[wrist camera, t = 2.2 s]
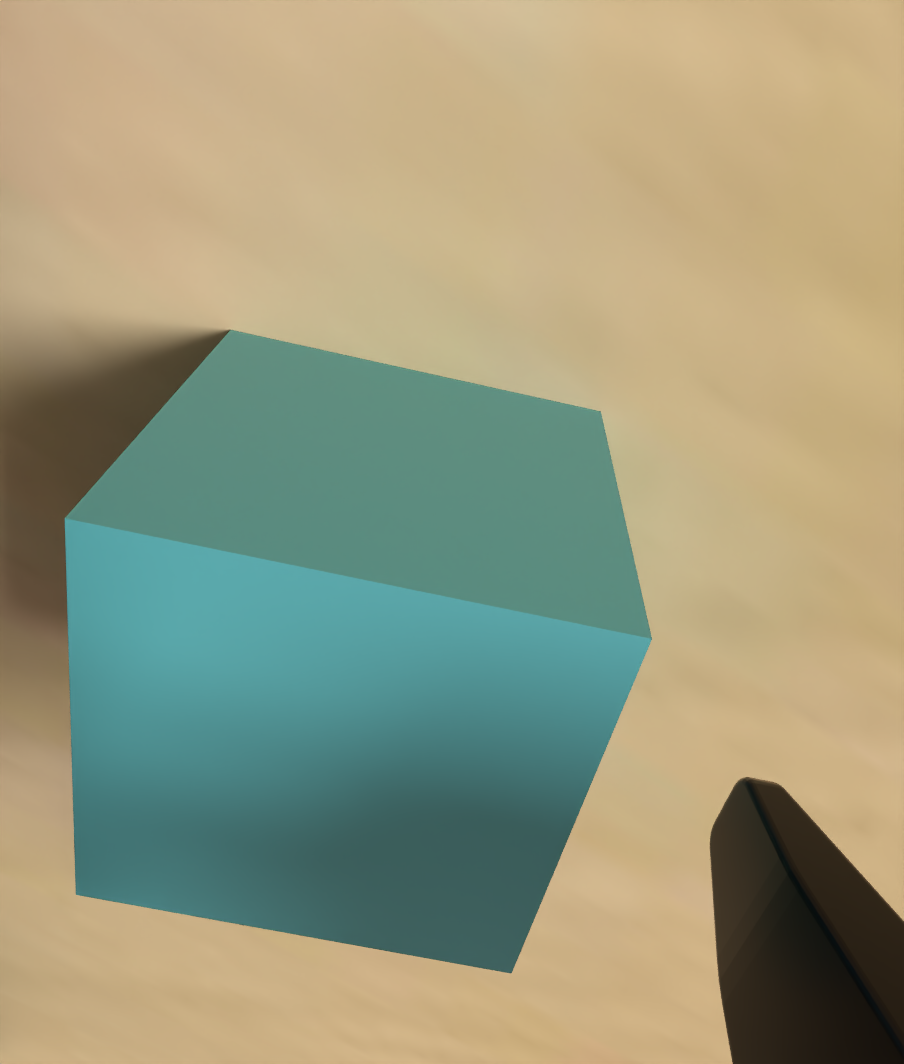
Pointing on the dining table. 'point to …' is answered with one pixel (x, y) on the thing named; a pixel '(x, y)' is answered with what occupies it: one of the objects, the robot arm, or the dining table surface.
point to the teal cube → (346, 652)
